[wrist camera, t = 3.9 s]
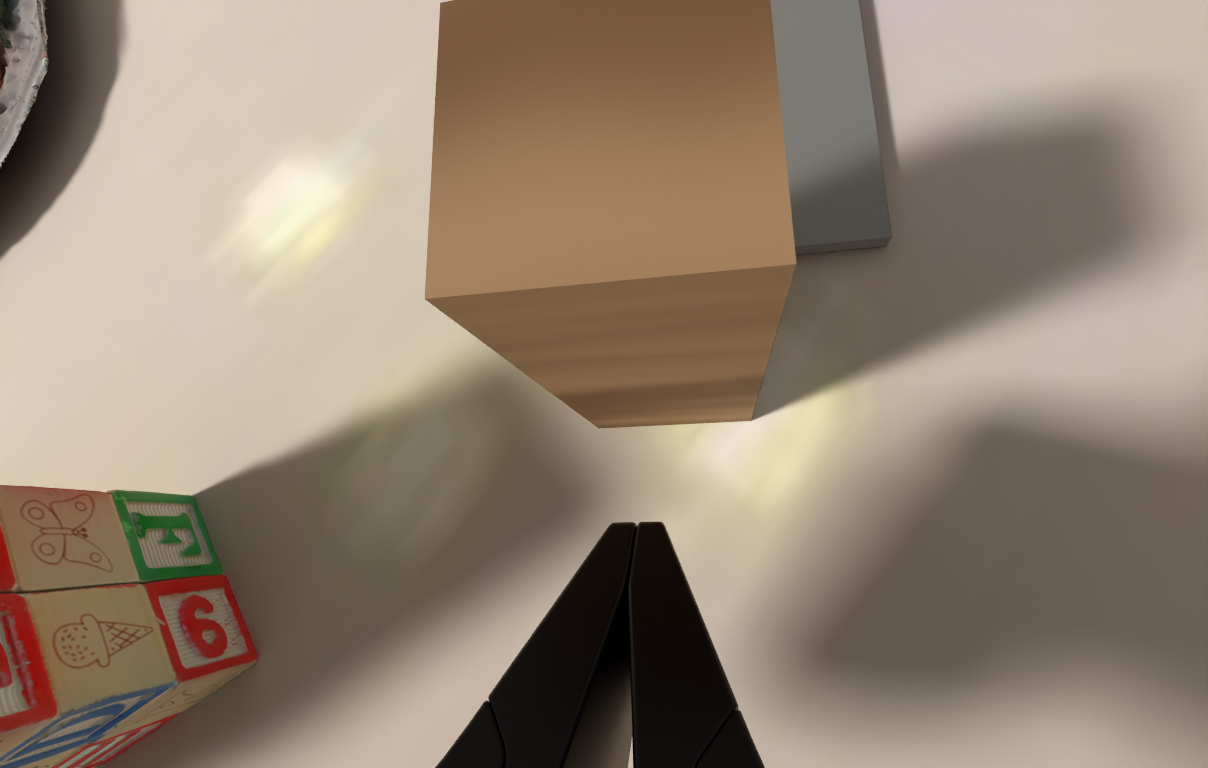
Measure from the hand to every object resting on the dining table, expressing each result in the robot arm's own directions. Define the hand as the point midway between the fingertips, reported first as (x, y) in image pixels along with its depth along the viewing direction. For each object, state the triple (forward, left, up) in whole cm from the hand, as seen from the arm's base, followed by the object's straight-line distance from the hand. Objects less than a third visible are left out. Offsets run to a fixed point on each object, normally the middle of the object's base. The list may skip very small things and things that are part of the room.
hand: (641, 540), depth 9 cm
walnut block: (+5, -3, -8) cm, 9 cm away
